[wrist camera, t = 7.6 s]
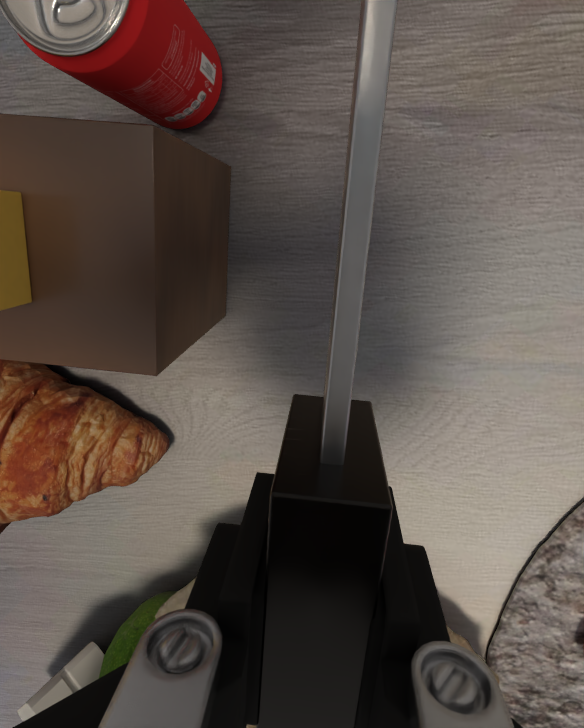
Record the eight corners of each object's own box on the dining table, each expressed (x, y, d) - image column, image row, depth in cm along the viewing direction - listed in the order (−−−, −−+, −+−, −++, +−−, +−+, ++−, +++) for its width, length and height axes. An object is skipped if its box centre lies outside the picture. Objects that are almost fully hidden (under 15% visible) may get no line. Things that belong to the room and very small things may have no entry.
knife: (332, -142, 7) (330, -524, 4) (442, -139, 7) (561, -531, 3) (276, 626, 13) (251, 802, 9) (340, 634, 12) (344, 817, 9)
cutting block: (-27, 145, 27) (-284, 92, 16) (231, 166, 26) (153, 124, 15) (-9, 292, 30) (-216, 336, 19) (225, 315, 29) (156, 376, 18)
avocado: (123, 577, 36) (27, 738, 25) (212, 558, 35) (153, 720, 24) (160, 650, 38) (88, 831, 27) (246, 635, 37) (207, 819, 26)
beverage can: (153, 142, 26) (16, 83, 15) (125, 43, 25) (-51, -106, 14) (237, 119, 26) (159, 38, 14) (212, 15, 24) (105, -168, 13)
